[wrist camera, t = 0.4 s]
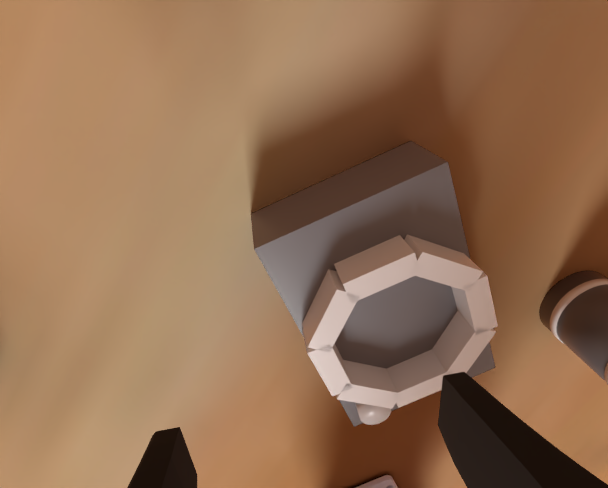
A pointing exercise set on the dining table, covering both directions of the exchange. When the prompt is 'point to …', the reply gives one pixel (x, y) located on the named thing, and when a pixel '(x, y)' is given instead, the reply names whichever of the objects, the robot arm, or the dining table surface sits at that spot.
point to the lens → (580, 317)
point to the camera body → (380, 281)
